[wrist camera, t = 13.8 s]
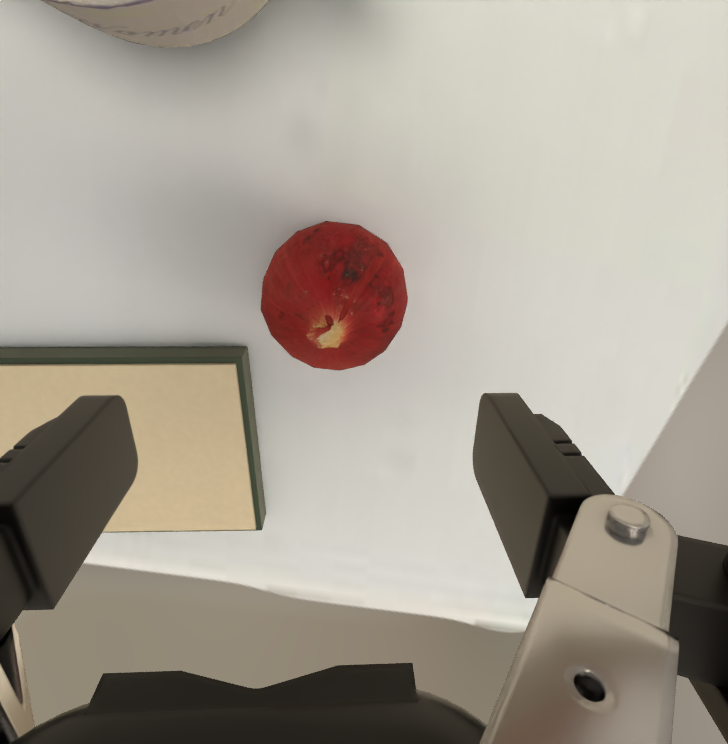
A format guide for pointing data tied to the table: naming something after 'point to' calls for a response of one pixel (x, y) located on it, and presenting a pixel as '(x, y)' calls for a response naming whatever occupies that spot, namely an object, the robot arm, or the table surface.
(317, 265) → the pomegranate
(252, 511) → the notebook
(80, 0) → the teacup
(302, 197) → the table surface
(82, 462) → the robot arm
